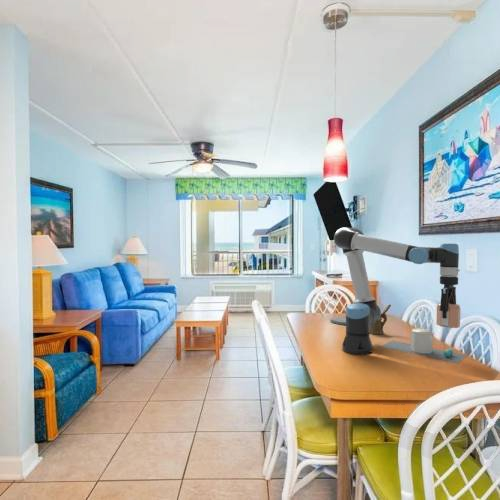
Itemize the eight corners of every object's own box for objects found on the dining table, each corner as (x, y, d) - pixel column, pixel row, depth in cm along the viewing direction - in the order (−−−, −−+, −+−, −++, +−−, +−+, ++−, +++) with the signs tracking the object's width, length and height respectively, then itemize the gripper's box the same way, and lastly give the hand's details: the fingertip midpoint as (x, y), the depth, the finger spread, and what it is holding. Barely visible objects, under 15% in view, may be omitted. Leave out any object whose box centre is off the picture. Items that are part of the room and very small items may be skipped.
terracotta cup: (456, 328, 156) (456, 306, 156) (434, 325, 162) (434, 304, 162) (461, 325, 162) (462, 304, 162) (440, 322, 168) (441, 302, 168)
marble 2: (452, 356, 161) (452, 350, 161) (445, 355, 163) (445, 349, 163) (454, 355, 163) (454, 349, 163) (447, 353, 166) (447, 347, 165)
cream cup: (428, 354, 164) (428, 333, 164) (408, 350, 171) (408, 330, 171) (434, 350, 171) (434, 330, 171) (415, 346, 177) (415, 327, 177)
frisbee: (329, 319, 252) (329, 315, 252) (368, 320, 247) (368, 317, 247) (331, 325, 232) (331, 321, 232) (372, 327, 227) (372, 323, 227)
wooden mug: (391, 335, 205) (392, 305, 205) (368, 334, 209) (368, 304, 208) (389, 332, 214) (390, 303, 213) (367, 330, 217) (367, 302, 217)
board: (457, 366, 152) (457, 363, 152) (379, 349, 178) (379, 346, 178) (467, 358, 163) (467, 355, 163) (392, 343, 189) (392, 340, 189)
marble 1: (449, 358, 159) (449, 352, 159) (442, 357, 161) (442, 350, 161) (451, 357, 161) (451, 350, 161) (444, 355, 163) (444, 349, 163)
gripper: (450, 278, 151) (449, 328, 152) (464, 275, 167) (463, 321, 167) (432, 276, 157) (431, 325, 157) (447, 274, 172) (446, 318, 172)
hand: (448, 323), depth 162 cm, fingers closed on terracotta cup, 9 cm apart
